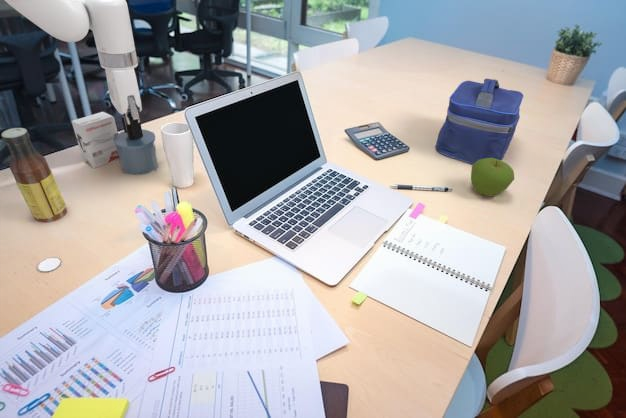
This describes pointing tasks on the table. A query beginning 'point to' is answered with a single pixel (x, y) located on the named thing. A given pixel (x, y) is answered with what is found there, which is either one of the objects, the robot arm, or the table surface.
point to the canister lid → (125, 142)
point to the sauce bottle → (34, 177)
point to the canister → (138, 159)
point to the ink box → (96, 138)
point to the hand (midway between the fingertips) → (133, 134)
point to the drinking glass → (179, 153)
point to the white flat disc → (49, 264)
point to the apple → (491, 176)
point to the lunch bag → (479, 121)
